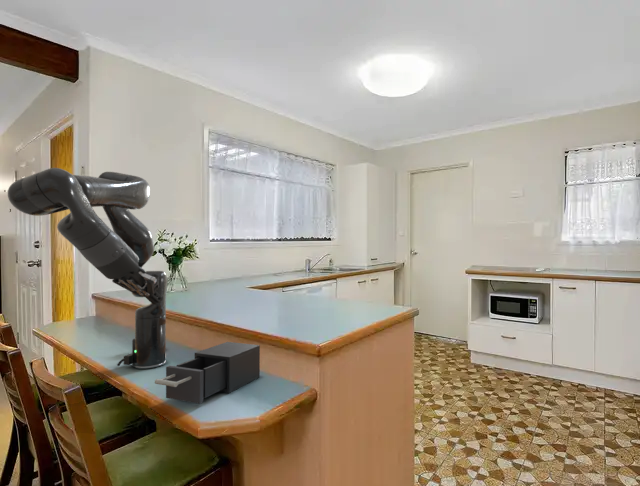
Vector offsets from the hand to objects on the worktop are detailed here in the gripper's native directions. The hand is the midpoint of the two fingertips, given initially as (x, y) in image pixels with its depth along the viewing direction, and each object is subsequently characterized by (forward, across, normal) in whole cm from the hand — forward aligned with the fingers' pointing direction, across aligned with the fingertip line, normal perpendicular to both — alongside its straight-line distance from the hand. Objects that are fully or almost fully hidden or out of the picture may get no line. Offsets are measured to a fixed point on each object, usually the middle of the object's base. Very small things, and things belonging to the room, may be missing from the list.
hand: (158, 301), depth 91 cm
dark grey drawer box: (+36, -2, +3) cm, 36 cm away
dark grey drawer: (+26, -2, +12) cm, 29 cm away
